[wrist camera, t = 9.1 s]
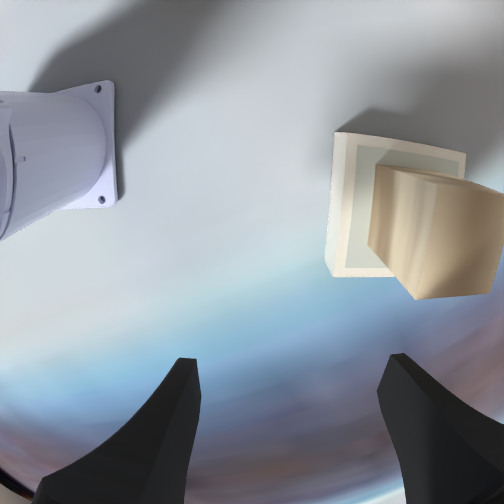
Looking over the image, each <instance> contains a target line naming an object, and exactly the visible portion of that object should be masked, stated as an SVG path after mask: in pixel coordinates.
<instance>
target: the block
mask: <svg viewBox="0 0 504 504" xmlns="http://www.w3.org/2000/svg"><path fill="white" fill-rule="evenodd" d="M367 245H368V246H369V247H370V248H371V250H372V251H373V252H374V253H375V254H376V255H377V256H378V257H379V258H380V260H381V261H382V262H383V263H384V264H385V265H386V266H387V267H388V269H389V270H390V271H391V272H392V273H393V274H394V275H395V277H396V278H397V279H398V280H399V281H400V282H401V284H402V285H403V286H404V287H405V288H406V290H407V291H408V292H409V293H410V294H411V296H412V297H413V298H414V299H415V300H417V299H431V298H444V297H456V296H467V295H477V294H487V293H490V290H491V287H492V284H493V281H494V278H495V275H496V271H497V268H498V264H499V260H500V257H501V253H502V249H503V245H504V194H503V193H500V192H498V191H495V190H493V189H490V188H487V187H485V186H482V185H479V184H476V183H473V182H471V181H468V180H465V179H462V178H459V177H456V176H453V175H449V174H446V173H443V172H437V171H430V170H423V169H415V168H408V167H399V166H391V165H381V164H376V165H375V179H374V190H373V200H372V210H371V219H370V227H369V235H368V242H367Z"/></svg>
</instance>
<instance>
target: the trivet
mask: <svg viewBox="0 0 504 504" xmlns="http://www.w3.org/2000/svg"><path fill="white" fill-rule="evenodd" d="M376 164H381V165H391V166H399V167H408V168H415V169H423V170H430V171H437V172H443V173H446V174H449V175H453V176H456V177H459V178H462V179H464V174H465V165H466V153H462V152H458V151H453V150H449V149H445V148H440V147H435V146H430V145H425V144H420V143H415V142H409V141H403V140H397V139H391V138H385V137H378V136H371V135H363V134H355V133H345V132H334V146H333V164H332V179H331V193H330V205H329V216H328V227H327V236H326V246H325V255H324V261H325V262H326V264H327V266H328V268H329V270H330V272H331V274H332V276H333V277H395V275H394V274H393V273H392V272H391V271H390V270H389V269H388V267H387V266H386V265H385V264H384V263H383V262H382V261H381V260H380V258H379V257H378V256H377V255H376V254H375V253H374V252H373V251H372V250H371V248H370V247H369V246H368V245H367V242H368V235H369V227H370V219H371V210H372V200H373V190H374V179H375V165H376Z"/></svg>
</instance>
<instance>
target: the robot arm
mask: <svg viewBox="0 0 504 504" xmlns="http://www.w3.org/2000/svg"><path fill="white" fill-rule="evenodd" d="M99 86H101V88H102V89H101V91H100V92H99V93H98V92H97V89H98V87H99ZM114 89H115V87H114V83H113V82H112V81H109V80H104V81H99V82H94V83H90V84H85V85H81V86H77V87H73V88H69V89H65V90H61V91H57V92H54V93H50V94H49V93H36V92H17V91H0V242H1V241H2V240H4V239H6V238H7V237H9V236H11V235H13V234H14V233H16V232H18V231H19V230H21V229H23V228H25V227H26V226H28V225H30V224H32V223H34V222H35V221H37V220H39V219H41V218H43V217H45V216H47V215H49V214H50V213H52V212H54V211H56V210H59V209H77V208H100V207H112V206H114V205H115V204H116V203H117V201H118V194H117V181H116V165H115V141H114ZM101 196H104V197H105V202H103V201H102V200H101ZM377 394H378V399H379V404H380V408H381V412H382V415H383V418H384V420H385V423H386V426H387V429H388V431H389V434H390V437H391V439H392V442H393V445H394V448H395V450H396V453H397V456H398V459H399V463H400V467H401V472H402V477H403V482H404V489H405V496H406V504H504V424H501V423H499V422H497V421H495V420H493V419H491V418H489V417H487V416H485V415H483V414H482V413H480V412H478V411H477V410H475V409H474V408H472V407H470V406H469V405H467V404H466V403H464V402H463V401H462V400H460V399H459V398H458V397H456V396H455V395H454V394H452V393H451V392H450V391H448V390H447V389H446V388H445V387H443V386H442V385H441V384H440V383H439V382H437V381H436V380H435V379H434V378H433V377H432V376H430V375H429V374H428V373H427V372H426V371H425V370H424V369H422V368H421V367H420V366H419V365H418V364H417V363H415V362H414V361H413V360H412V359H411V358H410V357H408V356H407V355H406V354H404V353H401V354H392V355H390V358H389V360H388V363H387V366H386V368H385V371H384V374H383V376H382V379H381V381H380V384H379V386H378V389H377ZM200 404H201V390H200V383H199V376H198V368H197V360H196V359H191V358H179V359H177V361H176V362H175V364H174V365H173V367H172V368H171V370H170V371H169V373H168V374H167V375H166V377H165V378H164V380H163V381H162V382H161V384H160V385H159V386H158V388H157V389H156V390H155V391H154V393H153V394H152V395H151V396H150V398H149V399H148V400H147V401H146V402H145V403H144V405H143V406H142V407H141V408H140V409H139V410H138V411H137V412H136V413H135V415H134V416H133V417H132V418H131V419H130V420H129V421H128V422H127V423H126V424H125V425H124V426H122V427H121V428H120V429H119V430H118V431H117V432H116V433H115V434H113V435H112V436H111V437H110V438H109V439H107V440H106V441H105V442H104V443H102V444H101V445H100V446H98V447H97V448H96V449H94V450H93V451H91V452H90V453H88V454H87V455H85V456H83V457H82V458H80V459H79V460H77V461H75V462H74V463H72V464H70V465H68V466H67V467H65V468H62V469H60V470H58V471H56V472H54V473H52V474H50V475H48V476H45V477H43V478H42V480H41V482H40V484H39V485H38V488H37V490H36V493H35V495H34V498H33V500H32V503H31V504H184V495H185V484H186V476H187V470H188V465H189V461H190V456H191V452H192V448H193V443H194V439H195V434H196V430H197V426H198V421H199V413H200Z"/></svg>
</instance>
